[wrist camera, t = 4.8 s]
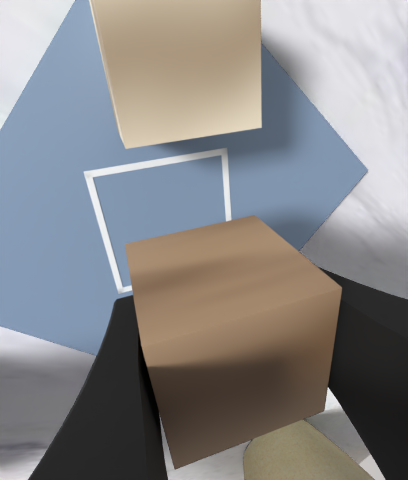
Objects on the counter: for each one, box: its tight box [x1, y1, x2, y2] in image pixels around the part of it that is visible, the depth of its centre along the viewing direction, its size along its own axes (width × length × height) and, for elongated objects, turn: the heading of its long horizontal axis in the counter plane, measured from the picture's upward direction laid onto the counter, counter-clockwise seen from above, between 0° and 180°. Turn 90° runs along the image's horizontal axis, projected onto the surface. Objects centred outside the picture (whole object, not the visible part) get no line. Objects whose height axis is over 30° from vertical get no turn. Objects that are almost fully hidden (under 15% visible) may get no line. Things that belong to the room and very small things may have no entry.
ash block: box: [89, 0, 262, 149], centre depth 11 cm, size 4×4×4 cm
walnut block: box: [125, 215, 342, 469], centre depth 9 cm, size 4×4×4 cm
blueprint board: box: [0, 0, 368, 356], centre depth 16 cm, size 18×16×1 cm
